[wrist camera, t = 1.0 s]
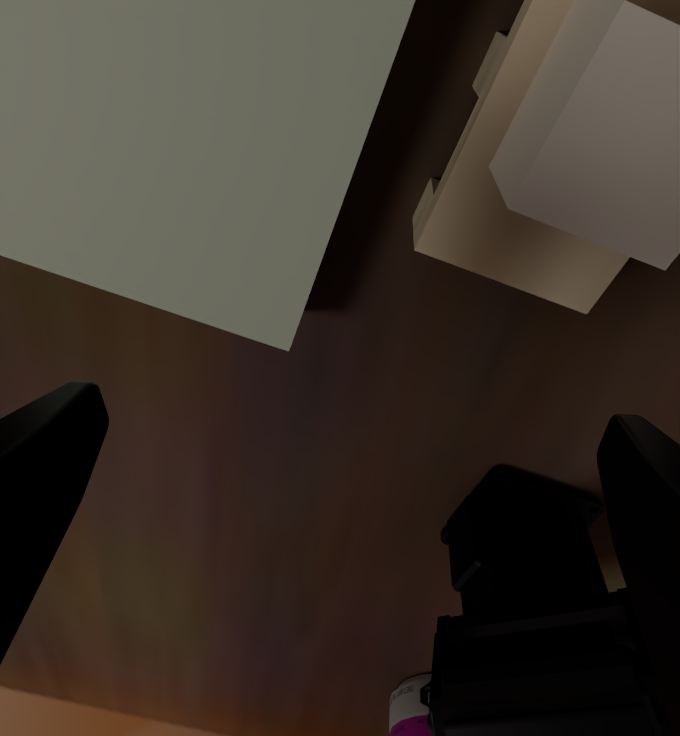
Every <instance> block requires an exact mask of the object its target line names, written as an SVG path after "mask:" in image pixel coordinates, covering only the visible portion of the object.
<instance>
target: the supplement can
mask: <svg viewBox="0 0 680 736" xmlns="http://www.w3.org/2000/svg"><path fill="white" fill-rule="evenodd" d="M430 685H431V674H423V675H418V676H414V677H411V678H408V679H406V680H405V681H404V682H402V683H401V684H400V685H399V687H398V689H396V690H395V691H394V692H392V695H391V698H390V722H389V736H433V735H432V734H431V733H430V732H429V729H428V724H427V718H428V714H429V697H430Z"/></svg>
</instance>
